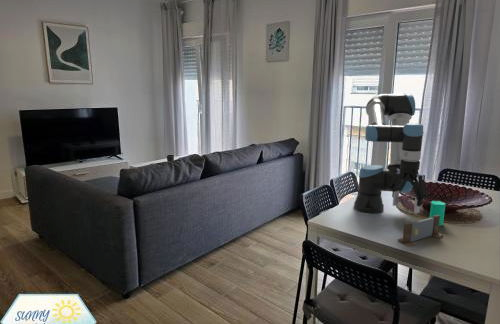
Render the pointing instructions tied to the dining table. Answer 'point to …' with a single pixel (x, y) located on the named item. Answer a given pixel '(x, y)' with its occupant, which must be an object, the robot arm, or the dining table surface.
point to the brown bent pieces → (407, 232)
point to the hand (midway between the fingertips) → (405, 208)
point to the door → (422, 229)
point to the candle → (438, 210)
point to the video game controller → (406, 202)
